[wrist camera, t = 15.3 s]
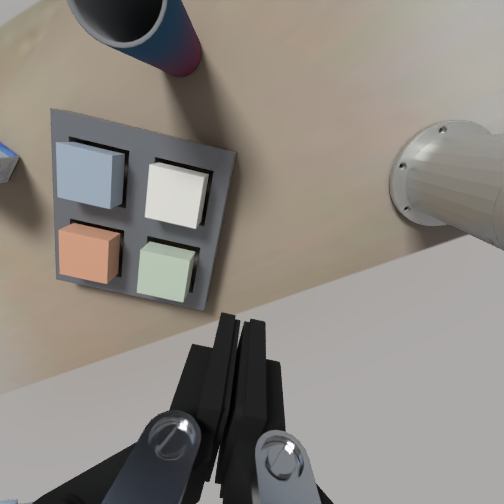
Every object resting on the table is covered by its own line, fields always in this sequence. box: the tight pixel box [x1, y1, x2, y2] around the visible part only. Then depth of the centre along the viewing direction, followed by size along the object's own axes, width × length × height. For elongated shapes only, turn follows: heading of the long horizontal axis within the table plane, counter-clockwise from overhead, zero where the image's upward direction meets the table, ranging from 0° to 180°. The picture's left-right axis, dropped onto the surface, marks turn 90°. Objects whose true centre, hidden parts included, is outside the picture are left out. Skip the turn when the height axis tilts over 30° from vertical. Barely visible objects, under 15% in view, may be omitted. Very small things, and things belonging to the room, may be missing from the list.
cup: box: [67, 0, 201, 77], centre depth 25 cm, size 7×7×15 cm
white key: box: [145, 162, 209, 229], centre depth 33 cm, size 6×6×3 cm
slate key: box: [56, 142, 125, 209], centre depth 33 cm, size 6×6×3 cm
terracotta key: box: [58, 223, 120, 284], centre depth 37 cm, size 6×6×3 cm
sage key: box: [137, 242, 195, 302], centre depth 37 cm, size 6×6×3 cm
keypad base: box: [50, 108, 237, 311], centre depth 38 cm, size 21×22×3 cm
